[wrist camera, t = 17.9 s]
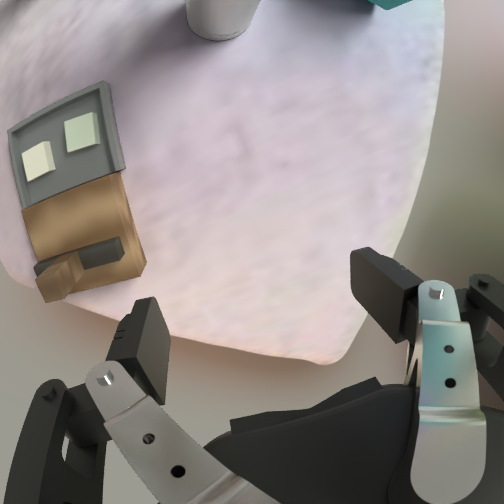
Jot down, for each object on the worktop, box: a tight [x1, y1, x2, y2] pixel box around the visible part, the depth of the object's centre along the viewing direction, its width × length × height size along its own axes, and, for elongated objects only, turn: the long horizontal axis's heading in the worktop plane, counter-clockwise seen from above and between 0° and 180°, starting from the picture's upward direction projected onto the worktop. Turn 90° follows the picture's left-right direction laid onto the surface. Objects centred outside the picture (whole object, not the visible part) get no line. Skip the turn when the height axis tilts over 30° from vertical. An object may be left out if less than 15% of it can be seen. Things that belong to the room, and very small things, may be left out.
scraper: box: [33, 236, 125, 303], centre depth 29 cm, size 3×14×10 cm, turn 101°
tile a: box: [22, 141, 55, 181], centre depth 30 cm, size 4×4×2 cm
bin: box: [7, 81, 126, 209], centre depth 31 cm, size 13×18×2 cm
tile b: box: [64, 112, 101, 152], centre depth 30 cm, size 4×4×2 cm
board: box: [22, 172, 147, 294], centre depth 35 cm, size 14×16×5 cm
